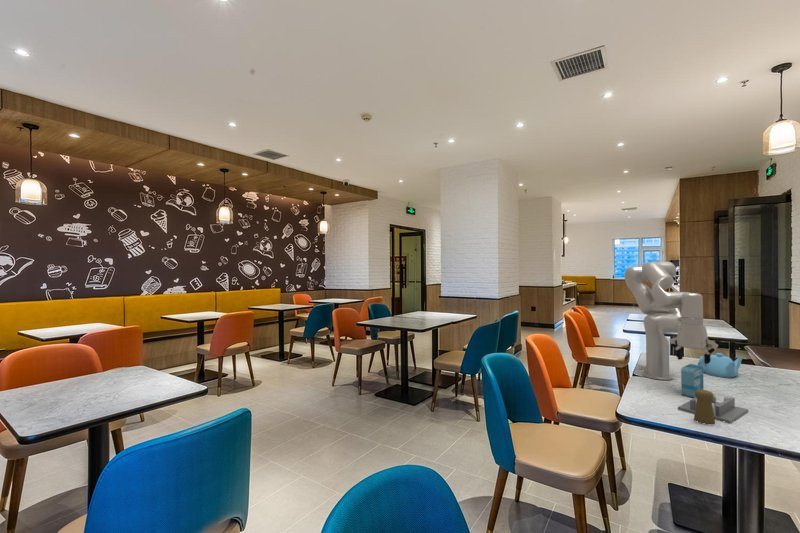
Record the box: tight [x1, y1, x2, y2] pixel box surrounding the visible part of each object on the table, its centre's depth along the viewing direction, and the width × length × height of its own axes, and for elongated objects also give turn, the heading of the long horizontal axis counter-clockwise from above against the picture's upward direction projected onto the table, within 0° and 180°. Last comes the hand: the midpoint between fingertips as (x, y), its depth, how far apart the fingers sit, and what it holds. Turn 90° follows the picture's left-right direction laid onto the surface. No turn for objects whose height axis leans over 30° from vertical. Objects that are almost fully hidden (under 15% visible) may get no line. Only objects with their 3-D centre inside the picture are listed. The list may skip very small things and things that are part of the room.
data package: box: [680, 363, 704, 398], centre depth 164 cm, size 12×4×12 cm, turn 126°
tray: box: [677, 391, 749, 424], centre depth 145 cm, size 16×19×5 cm
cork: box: [693, 389, 716, 425], centre depth 135 cm, size 6×6×11 cm
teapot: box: [697, 352, 743, 379], centre depth 193 cm, size 15×15×11 cm
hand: (693, 361), depth 163 cm, fingers open, 9 cm apart
